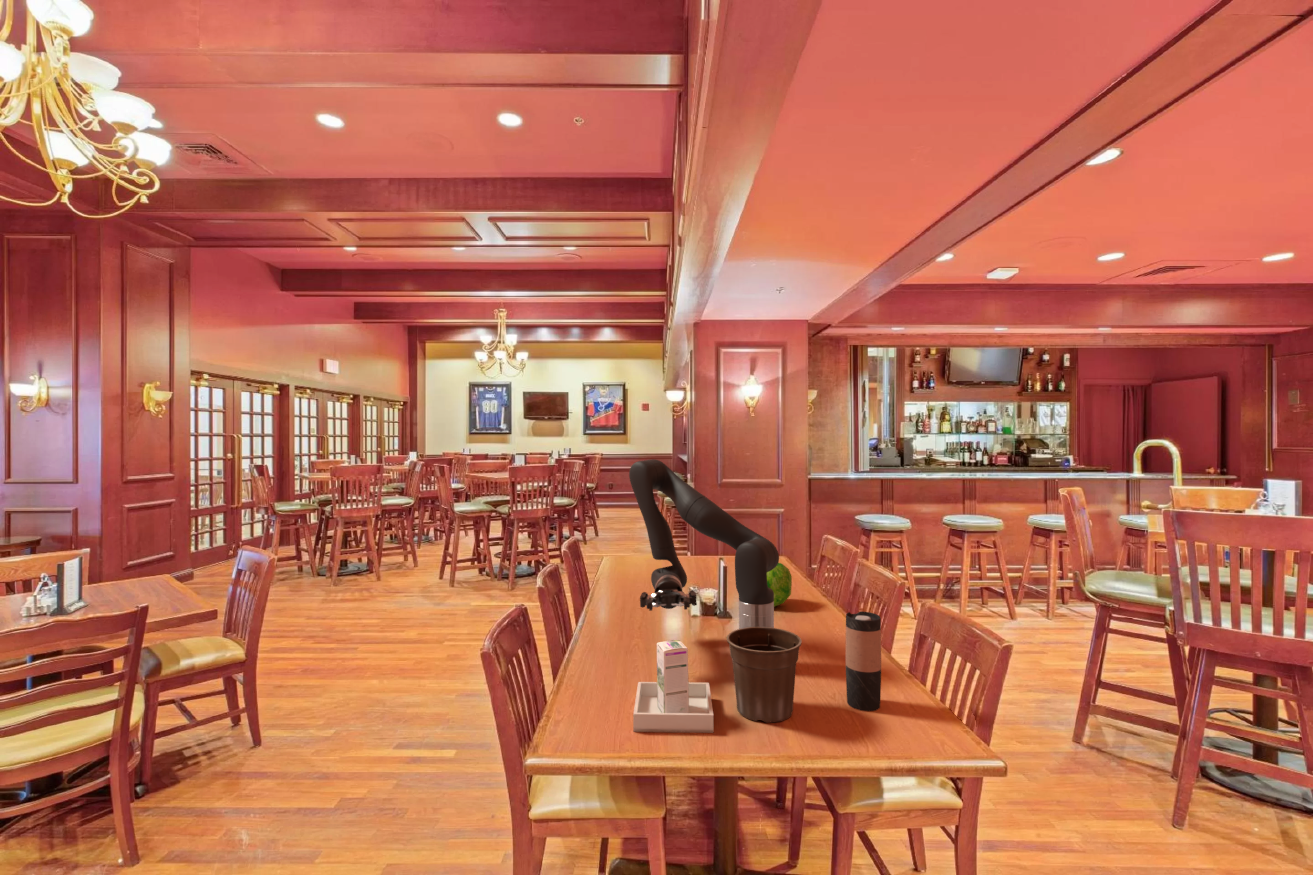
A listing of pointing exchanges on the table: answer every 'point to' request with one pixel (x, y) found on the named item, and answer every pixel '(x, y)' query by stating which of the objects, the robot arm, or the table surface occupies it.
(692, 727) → the tray
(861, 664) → the travel mug
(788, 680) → the plant pot
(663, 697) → the syrup box
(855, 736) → the table surface
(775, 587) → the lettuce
